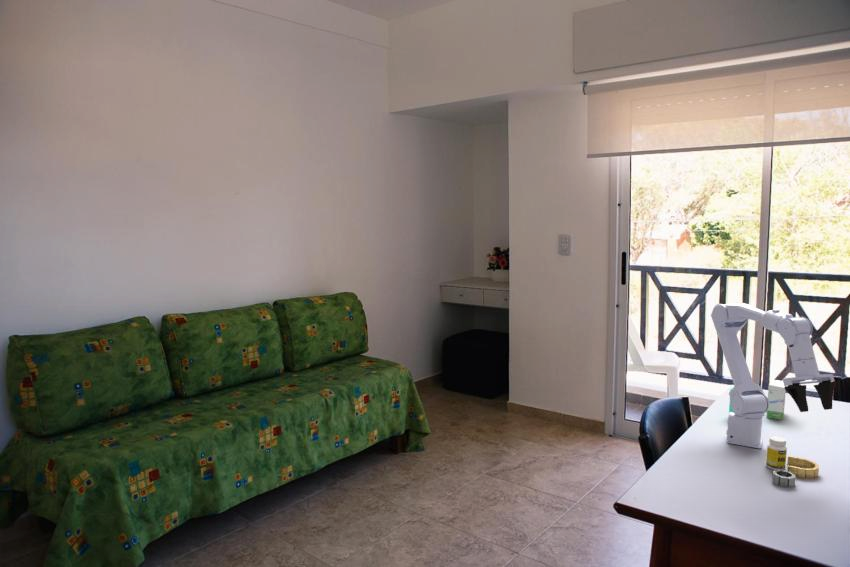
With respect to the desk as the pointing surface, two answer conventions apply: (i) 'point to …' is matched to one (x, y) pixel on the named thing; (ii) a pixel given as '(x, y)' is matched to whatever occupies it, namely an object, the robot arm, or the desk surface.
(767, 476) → the desk surface
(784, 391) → the ink box
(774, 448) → the supplement bottle
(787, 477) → the small steel collar
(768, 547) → the desk surface
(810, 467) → the wide wooden arch
